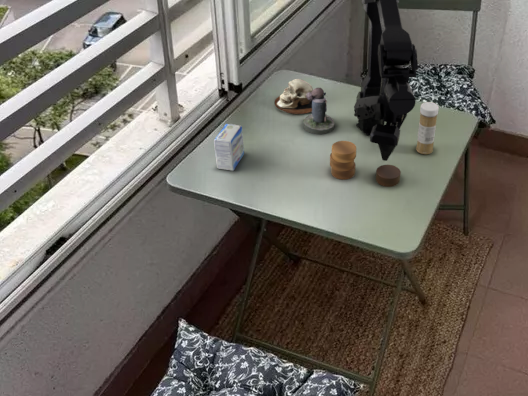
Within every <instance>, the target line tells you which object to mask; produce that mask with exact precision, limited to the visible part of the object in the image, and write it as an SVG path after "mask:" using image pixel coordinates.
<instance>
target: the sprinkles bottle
mask: <svg viewBox="0 0 528 396" xmlns="http://www.w3.org/2000/svg"><path fill="white" fill-rule="evenodd" d="M438 114H439V105H438V104H437V103H436V102H431V101H425V102H423V103H421V104H420V109H419V123H418V130H417V141H416V143H417V144H416V147H415V150H416V152H417V153H419V154H420V155H430V154H432V153H433V152H434V142H435V136H436V135H435V134H436V128H437V121H438Z"/></svg>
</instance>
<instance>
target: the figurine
mask: <svg viewBox="0 0 528 396" xmlns="http://www.w3.org/2000/svg"><path fill="white" fill-rule="evenodd" d="M326 94H327V92H325V90H324V89H323V88H321V87H315V88H313V91H312V92H308V93H307V94H306V97H307V99H308V100H313V101H312V111H311V114H309V115H307V116H305V117H304V118H303V123H302V124H303V129H304V131H306V132H308V133H310V134H313V135H326V134H328V133H330V132H332V131H334V129H335V120H334V119H333V118H332V117H331V116H330V115H327V113H326V112H327V110H328V109H327V108H328V107H327V103H328V100H327V98H326V97H325V96H327V95H326Z"/></svg>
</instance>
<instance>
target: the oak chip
mask: <svg viewBox="0 0 528 396" xmlns="http://www.w3.org/2000/svg"><path fill="white" fill-rule="evenodd" d="M331 153H332V155H331V156H332V158H333V159H334V160H335V161H337V162H341V163H348V162H351V161H353V160H354V161H355V160H356V158H357V145H356V144H355V143H353V142H351V141H349V140H338V141H336V142H333V144H332V145H331Z"/></svg>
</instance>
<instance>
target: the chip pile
mask: <svg viewBox="0 0 528 396" xmlns="http://www.w3.org/2000/svg"><path fill="white" fill-rule="evenodd" d="M331 155H332V152H331V153H330V154H329V166H330V174H331V176H332V177H334V178H335V179H337V180H342V181H344V180H350V179H352V178H354V177H355V175H356V162H355V159H354V160H353V161H351V162H348V163H341V162H337V161H335V160H334V159H333V158H332V156H331Z"/></svg>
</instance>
